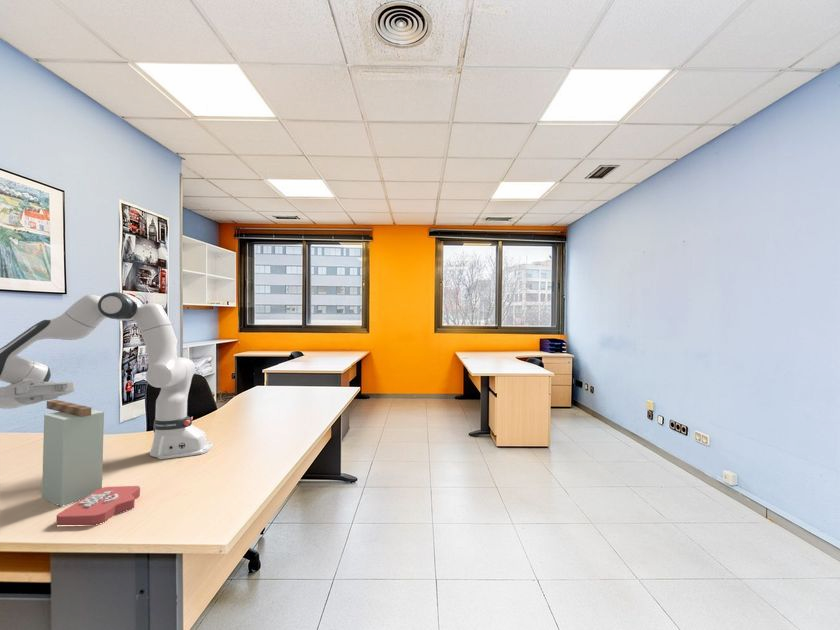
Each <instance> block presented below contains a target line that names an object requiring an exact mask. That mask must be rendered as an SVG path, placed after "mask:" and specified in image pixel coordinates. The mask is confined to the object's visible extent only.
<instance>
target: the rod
mask: <svg viewBox="0 0 840 630" xmlns="http://www.w3.org/2000/svg"><path fill="white" fill-rule="evenodd" d="M46 409H48V410H52V411H56V412H63V413H67V414H71V415H75V416H79V417H85V416H90V415H91V409H92V407H90V406H86V405H81V404H78V403H77V404H76V403H73V402H68V401H63V400H60V399H52V400H46Z"/></svg>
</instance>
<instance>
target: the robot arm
mask: <svg viewBox="0 0 840 630" xmlns="http://www.w3.org/2000/svg"><path fill="white" fill-rule="evenodd" d="M107 318H109V319H111V320H117V321H121V322H123V321H124V322H127V321H128V322H135V323H136V325H137V326H138V329H139V331H140V335H141V337H142V340H143V343H144V346H145V348H146V352H147V363H148V364H147V365H148V366H147V367H148V368H147V370H146V373H145V380H146V382H147V383H148V385H150V386H151V387H154V388H160V391H159V394H158V396H157V398H156V400H155V415H154V417H155V418H154V420H153V433H154V434H153V435H154V436H153V441H152V445H151V448H150V451H149V456H150V457H153V458H157V459H158V460H166V459H174V458H182V457H189V456H190V457H191V456H197V455H203V454H205V453H207V452H209V451H210V450H211V449H212V448H213V445H214V444H213V442H212V441H208V439H207V435H206V432H205V431H204V430H202V429H200V428H199V427H197V426H195V425H194V424H193V417H194V416H191V417H190V416H189V415H188V398H189V392H190V390H191V389H190V388H191V384H192V380H193V377H194V374H195V372H196V364H195V362H194V360H192V359H190V358H188V357H180V356H179V357H178V353H177V349H178V348H177V346H178V343H179V342H178V338H177V336H176V333H175V330H174V327H173V324H172V323H171V320H170V318H169V315H168V314H167V312H166V311H165V309H164V307H163V306H162V305H161V304H159V303H156V302H146V303H145V302H144V301H143V300H142V299H141V298H139V297H137V296H133V295H132V294H129V293H125V292H124V293H123V292H117V291H116V292H115V291H113V292H109V293H106V294H103V296H101V295H98V294H97V295H96V294H85V295H84V296H82V297H81V298H80V299H78V300H77V301H75V302H74V303H73V304H71V305H70V306H69V307H68V309H66V310H65V311H64V312H63V313H62V314H61V315H59V316H57V317H55V318H52V319H43V320H41V321H38V322H36V323H35V324H34V325H32V326H31V327H29V328H27V329H26V330H24V331H23V332H22V333H21V334H19V335H18V336H16V337H15V338H13V340H11V341H9V342H8V343H7V344H5V345H4V346H2V347H1V348H0V381H1V382H4V383H8V385H5V386H1V387H0V409H2V410H3V409H4V410H5V409H7V410H8V409H9V410H10V409H11V410H12V409H17V408H21V407H26V406H29V405H33V404H38V403H41V402H45V401H51V400H58V399H59V398H60V397H61V396H62V397H63V396H66V395H70V394H72V393H74V392H75V390H76V384H75V382H74V381H67V382H66V381H65V382H59V381H50V379H51V369H50V368H49V366H48V365H47V364H43V363H41V362H38V361H35V360H30V359H28V358H25V357H22V356H19V354H20V353H22V352H23V351H25V349H27V348H28V347H30V346H31V345H32V344H33V343H35V342H37V341H40V340H41V341H42V340H45V339H46V340H47V339H48V340H50V339H52V340H63V341H64V340H65V341H74V340H81V339H84V338H86V337H87V336H89V335H90V334H91V333H92V332H93V331H94V330H95V329H96V328H97V327H98V325H100V323H101V322H102V321H104V320H105V319H107Z"/></svg>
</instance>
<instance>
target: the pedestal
mask: <svg viewBox="0 0 840 630" xmlns="http://www.w3.org/2000/svg"><path fill="white" fill-rule="evenodd" d="M43 418H44V419H43V442H42V443H43V447H42V448H43V449H42V452H43V453H42V477H41V479H42V480H41V481H42V483H41V485H42V486H41V499H43V498H44V499H43V500H45V499H46V500H45V501H47V500H48V501H47V502H49V501H50V503H51V502H53V503H55V504H54V505H56V504H58V505H60V506H63V505H66V506H68V505H67V504H69V505H71V504H70V503H72V502H74V503H77V502H78V501H79V500H82V499H83V498H85V497H87V496H88V495H90V494H92V493H93V492H95V491H96V490H98V489H100V488H103V463H104V462H103V461H104V460H103V459H104V456H103V455H104V427H105V425H104V424H105V422H104V420H105V412H104V411H101V410H96V409H92V408H91V415H90V416H85V417H79V416H75V415H71V414H67V413H63V412H59V411H56V412H53V413H52V412H51V413H45V414H44V415H43ZM76 501H77V502H76ZM53 503H52V504H53ZM72 504H73V503H72ZM58 505H57V506H58ZM60 506H59V507H60ZM63 507H64V506H63Z"/></svg>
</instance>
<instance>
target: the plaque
mask: <svg viewBox="0 0 840 630" xmlns="http://www.w3.org/2000/svg"><path fill="white" fill-rule="evenodd" d="M140 494H141V487H140V486H139V485H129V486H127V485H125V486H124V485H122V486H121V485H120V486H104V487H102V488H100V489H98V490H96V491H95V492H93V493H92V494H90V495H88V496H87V497H85V498H83V499H82V500H80V501H77V502H74V503H72V505H70V506H69V507H67V508H65V509H63V510H62V511H61V512H59V513H57V515H56V524H57V525H95V526H97V525H96V524H100V523H102V524H104V523H106V522H108V521H109V520H110V519H112V518H113V517H114V516H116V515H118V514H117V513H119V514H121V513H120V512H122V513H124V512H123V511H125V512H127V511H126V510H128V511H130V510H129V509H131V510H133V509H135V501H136V500H137V499H139V498H140V497H141V495H140ZM139 496H140V497H139ZM135 499H136V500H135ZM132 508H133V509H132ZM115 514H116V515H115ZM113 515H114V516H113ZM112 516H113V517H112ZM111 517H112V518H111ZM109 518H110V519H109ZM108 519H109V520H108ZM107 520H108V521H107ZM105 521H106V522H105ZM103 522H104V523H103ZM100 525H101V524H100Z"/></svg>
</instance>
